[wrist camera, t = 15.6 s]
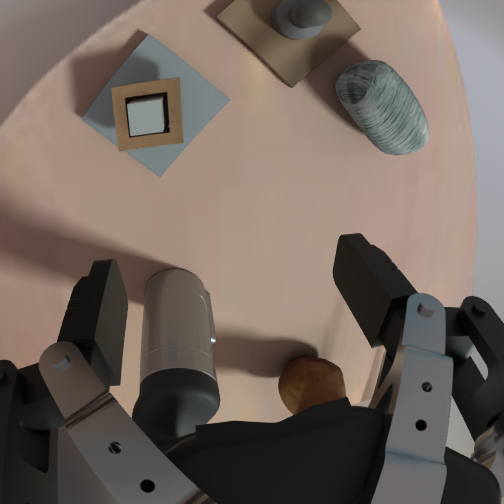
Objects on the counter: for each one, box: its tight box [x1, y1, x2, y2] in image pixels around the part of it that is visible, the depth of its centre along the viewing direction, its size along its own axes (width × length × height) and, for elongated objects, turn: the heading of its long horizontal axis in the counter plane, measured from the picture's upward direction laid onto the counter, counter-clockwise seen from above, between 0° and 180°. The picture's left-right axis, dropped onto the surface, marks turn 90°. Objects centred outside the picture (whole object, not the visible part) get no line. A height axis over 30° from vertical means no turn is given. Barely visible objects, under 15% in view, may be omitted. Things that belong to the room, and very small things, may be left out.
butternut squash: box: [278, 356, 346, 415], centre depth 55 cm, size 14×13×25 cm
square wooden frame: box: [111, 77, 184, 151], centre depth 27 cm, size 6×6×3 cm
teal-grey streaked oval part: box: [335, 60, 429, 155], centre depth 33 cm, size 14×10×10 cm
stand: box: [215, 0, 361, 88], centre depth 25 cm, size 12×12×8 cm
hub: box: [81, 34, 230, 177], centre depth 28 cm, size 12×12×8 cm
